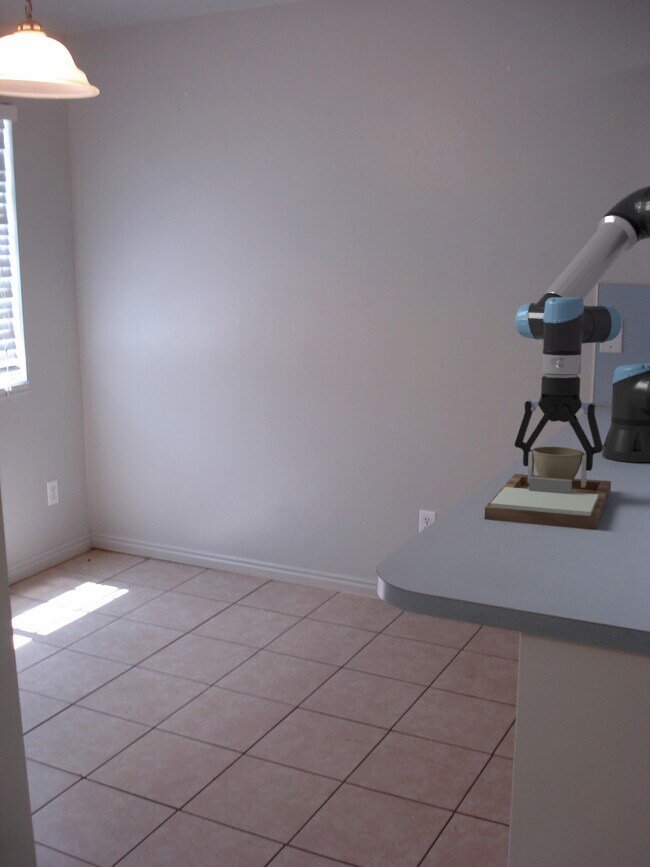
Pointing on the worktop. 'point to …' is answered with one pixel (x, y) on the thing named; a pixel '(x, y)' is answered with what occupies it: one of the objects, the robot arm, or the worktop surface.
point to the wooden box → (553, 518)
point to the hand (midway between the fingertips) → (556, 483)
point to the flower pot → (557, 462)
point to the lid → (546, 498)
